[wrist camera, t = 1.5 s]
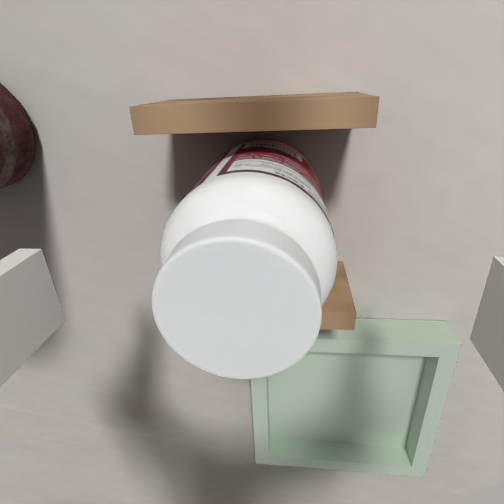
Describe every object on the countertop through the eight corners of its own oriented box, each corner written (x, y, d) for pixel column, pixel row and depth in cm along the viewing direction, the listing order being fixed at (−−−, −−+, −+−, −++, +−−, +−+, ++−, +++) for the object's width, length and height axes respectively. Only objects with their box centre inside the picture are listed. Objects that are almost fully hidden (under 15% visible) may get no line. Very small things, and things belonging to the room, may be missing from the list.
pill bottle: (241, 262, 21) (195, 420, 11) (187, 170, 19) (73, 267, 9) (339, 220, 19) (384, 366, 10) (291, 114, 17) (287, 161, 7)
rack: (194, 273, 22) (168, 323, 17) (171, 99, 18) (129, 106, 13) (341, 276, 21) (354, 330, 16) (356, 91, 17) (379, 97, 12)
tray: (258, 437, 28) (255, 463, 26) (252, 315, 23) (248, 336, 21) (415, 449, 27) (424, 477, 25) (447, 320, 21) (461, 344, 20)
